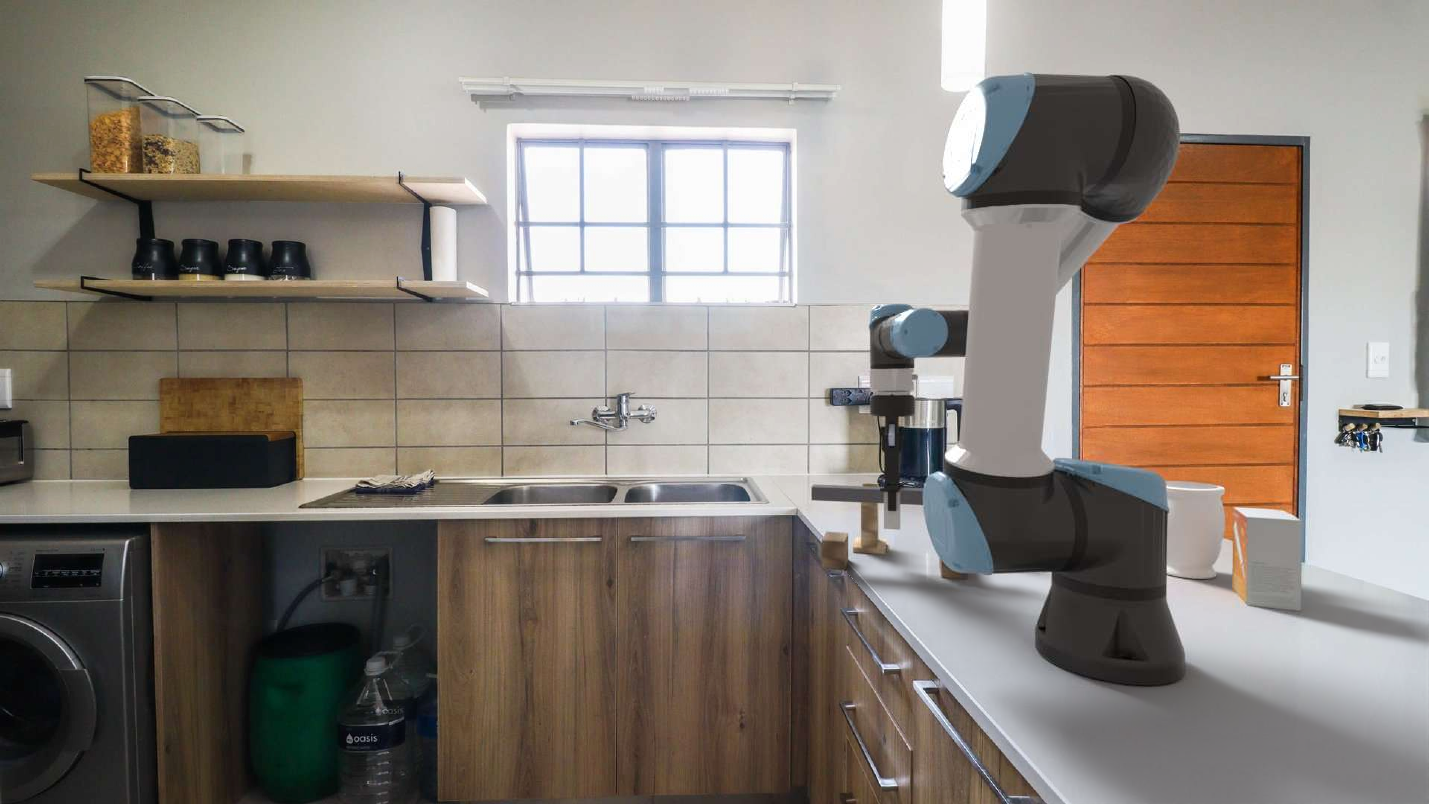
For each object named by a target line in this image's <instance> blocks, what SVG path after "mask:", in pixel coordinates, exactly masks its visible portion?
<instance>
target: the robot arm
mask: <svg viewBox="0 0 1429 804" xmlns="http://www.w3.org/2000/svg"><path fill="white" fill-rule="evenodd" d="M1180 132H1181V131H1180V122H1179V118H1178V114H1177V112H1176V108H1175V106H1174V105H1173V103H1172V102H1171V100H1170V98H1168V96H1167V95H1166V94H1165V93H1164V92H1163V90H1162V89H1160V88H1159V87H1157V86H1156V85H1155V84H1154V83H1152V82H1150V81H1149V80H1145V79H1143V78H1140V77H1137V76H1134V75H1133V76H1132V75H1125V74H1124V75H1123V74H1110V75H1085V74H1053V73H1052V74H1051V73H1050V74H1048V73H1047V74H1046V73H1032V72H1022V73H1019V74H1013V75H1012V74H1011V75H994V76H990V77H986V78H985V79H983V80H981V81H980V82H979V83H978V84H975V86H974V87H973V88H972V89H971V90H970V91H969V93H967V94H966V96H965V98H964V100H963V101H962V103H961V104H960V107H959V109H958V110H957V113H956V115H955V117H954V119H953V122H952V124H951V126H950V130H949V133H948V136H947V140H946V143H945V150H944V154H943V161H942V162H943V163H942V177H943V179H944V181H943V182H944V187H945V190H946V192H948V193H949V194H950V195H953V196H954V197H956V198H961V207H960V216H961V217H962V218H963V220H965V222H966V223H967V224H968V225H969V226H971V228H972V230H973V231H974V232H973V245H972V246H973V247H972V262H971V273H970V274H971V275H970V288H969V301H968V302H969V303H968V304H969V305H968V309H958V310H952V309H951V310H950V309H949V310H945V309H944V310H941V309H940V310H935V309H932V308H928V307H920V308H919V307H918V308H916V307H913V306H912V305H910V304H907V303H887V304H880V305H875V306H873V307H872V309H871V310H870V314H869V315H870V317H869V318H870V319H869V323H868V329H869V365H870V369H869V391H870V392H872V393H873V394H872V395H871V396H870V397H869V398H870V399H869V409H870V410H869V413H870V415H871V416H872V417H877V418H878V417H879V418H880V417H881V418H882V417H883V418H885V419H884V425H882V426H881V425H880V428H879V429H880V430H879V432H880V433H879V435H880V437H881V451H882V452H883V453H884V454H883V457H884V459H883V461H884V462H883V465H884V467H883V468H884V469H883V473H884V475H883V476H884V477H883V478H884V484H883V487H884V488H880V492H884V503H883V529H884V530H896V531H897V530H901V504H900V492H899V491H900V488H905V485H904V484H905V483H904V482H901V477H900V453H902V451H903V438H904V435H905V427H904V426H903V425H902V426H901V425H900V421H899V420H900V417H901V418H903V417H904V418H905V417H913V416H915V396H914V395H913V394H911V392H914V391H915V382H914V381H917V380H918V379H919V375H918V374H916V373H914V372H915V359H918V358H920V359H924V358H931V359H932V358H934V359H935V358H965V359H964V369H963V370H964V372H963V385H962V400H961V401H962V402H961V412H960V428H959V440H958V442H957V443H955V444H954V445H953V446H952V447H951V448H949V449H948V450H946V451H945V453H944V460H943V470H942V471H935V472H934V473H931V474H929V475H928V476H927V477H926V479H925V483H924V484H923V505H922V506H923V514H924V515H923V516H924V521H925V525H926V529H927V532H928V535H929V539H930V541H931V544H932V546H933V549H934V550H935V552H936V554H937V555H938V557H940V559H941V560H942V561H943V563H944V564H945V565H946V566H947V567H949V568H950V569H951V570H953V571H956V572H959V573H967V574H982V575H983V576H991V575H993V574H994V575H995V574H999V575H1000V574H1001V575H1002V574H1023V573H1024V574H1025V573H1026V574H1028V573H1031V574H1033V573H1051V577H1050V578H1051V582H1050V584H1051V585H1050V587H1049V590H1048V593H1047V595H1046V598H1045V601H1044V603H1043V606H1042V608H1041V611H1040V614H1039V615H1038V619H1037V622H1036V624H1035V629H1034V631H1035V632H1034V637H1035V639H1034V641H1035V642H1034V646H1035V649H1036V650H1037V652H1038V654H1039V655H1040V656H1042V657H1043V658H1045V660H1048V661H1049V662H1050V663H1052V664H1054V665H1056V666H1058V667H1060V668H1063V669H1064V670H1067V671H1069V672H1073V673H1076V674H1079V675H1082V676H1085V677H1089V678H1093V679H1097V680H1102V681H1106V682H1111V683H1117V684H1124V685H1133V686H1136V685H1137V686H1158V685H1161V686H1162V685H1166V684H1167V685H1168V684H1171V683H1174V682H1177V681H1180V680H1182V678H1183V677H1184V676H1185V675H1186V674H1185V673H1186V653H1185V648H1184V646H1183V643H1182V640H1181V637H1180V635H1179V632H1178V628H1177V626H1176V624H1175V621H1174V618H1173V616H1172V613H1171V609H1170V607H1169V605H1168V596H1167V593H1168V592H1167V580H1168V579H1167V578H1168V577H1167V576H1168V574H1167V522H1168V513H1169V508H1168V502H1167V489H1166V483H1165V481H1166V480H1165V479H1164V478H1163V477H1162V476H1161V475H1160V474H1158V473H1157V472H1156V471H1153V470H1150V469H1149V470H1148V469H1144V468H1139V467H1132V466H1127V465H1122V464H1115V463H1107V462H1102V461H1093V460H1086V459H1079V458H1078V459H1077V458H1068V457H1067V458H1066V457H1055V458H1053V460H1052V459H1051V458H1050V457H1049V456H1048V455H1047V454H1046V453H1045V452H1044V451H1043V448H1042V445H1043V444H1042V442H1043V433H1044V424H1045V415H1046V414H1045V413H1046V404H1047V403H1046V402H1047V392H1048V384H1049V383H1048V381H1049V372H1050V359H1051V352H1052V351H1051V349H1052V342H1053V341H1052V339H1053V329H1054V319H1055V311H1056V309H1055V308H1056V300H1057V299H1056V298H1057V295H1058V294H1059V292H1061V290H1062V289H1063V288H1064V287H1065V286H1066V285H1067V284H1068V283H1069V281H1070V280H1071V279H1072V278H1073V277H1074V276H1075V275H1076V274H1077V272H1078V271H1079V270H1081V268H1082V267H1083V266H1084V265H1085V264H1086V263H1087V261H1088V260H1089V259H1090V258H1091V256H1093V255H1094V254H1095V252H1096V251H1097V250H1098V249H1099V248H1100V247H1101V246H1102V245H1103V244H1104V242H1106V240H1107V239H1108V238H1109V237H1110V236H1111V234H1112V233H1113V232H1114V231H1115V230H1116V229H1117V228H1118V227H1119V226H1120V225H1124V224H1128V223H1130V222H1133V221H1135V220H1137V219H1138V218H1139V217H1140V216H1141V215H1143V213H1144V211H1145V210H1146V209H1147V208H1148V207H1149V206H1150V205H1151V204H1152V203H1153V202H1154V200H1155V199H1156V198H1157V197H1158V195H1159V194H1160V192H1162V190H1163V189H1164V187H1165V185H1166V184H1167V182H1168V180H1169V178H1170V177H1171V174H1172V172H1173V171H1174V167H1175V166H1176V162H1177V160H1178V159H1177V158H1178V155H1179V150H1180V145H1181V133H1180Z"/></svg>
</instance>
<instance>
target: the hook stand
mask: <svg viewBox="0 0 1429 804" xmlns="http://www.w3.org/2000/svg"><path fill="white" fill-rule="evenodd" d="M862 486H870V487H879V483H878V482H862ZM860 530H861V531H860V537H855V539H854V543H853V546H852V553H859V554H876V555H885V554H886V548H887V539H886V538H879V503H862V502H860Z"/></svg>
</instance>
